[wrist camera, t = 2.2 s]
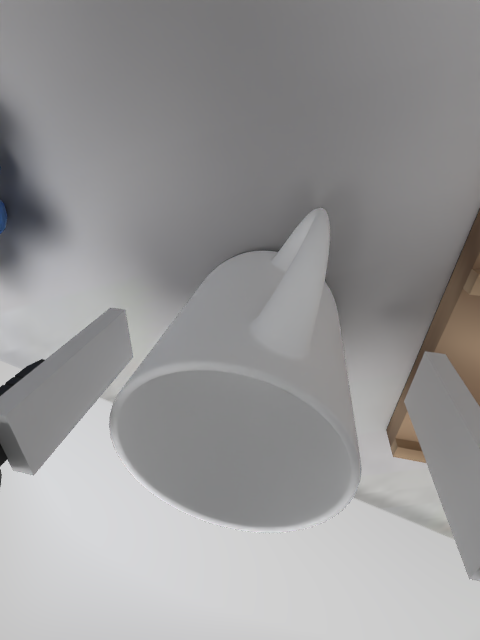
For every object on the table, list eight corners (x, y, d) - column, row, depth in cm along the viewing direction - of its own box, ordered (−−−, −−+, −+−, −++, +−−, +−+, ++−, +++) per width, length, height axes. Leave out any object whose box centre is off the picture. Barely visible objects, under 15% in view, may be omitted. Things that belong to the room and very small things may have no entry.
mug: (402, 222, 15) (532, 344, 6) (300, 383, 22) (291, 557, 13) (242, 157, 15) (142, 184, 6) (187, 337, 22) (98, 480, 13)
